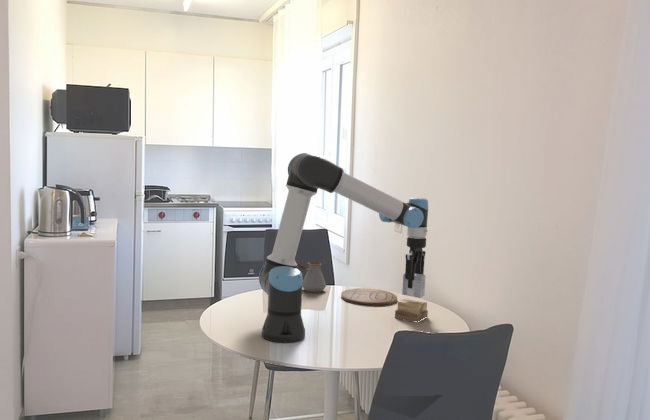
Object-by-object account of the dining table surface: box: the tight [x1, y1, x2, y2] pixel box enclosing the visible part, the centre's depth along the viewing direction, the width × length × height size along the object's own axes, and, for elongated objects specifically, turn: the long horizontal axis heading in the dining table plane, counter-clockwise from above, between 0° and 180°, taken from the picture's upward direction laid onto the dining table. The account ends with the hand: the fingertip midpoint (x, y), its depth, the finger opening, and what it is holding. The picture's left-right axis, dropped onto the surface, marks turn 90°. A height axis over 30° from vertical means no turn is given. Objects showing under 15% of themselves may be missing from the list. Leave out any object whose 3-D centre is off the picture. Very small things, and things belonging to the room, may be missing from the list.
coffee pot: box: [297, 261, 327, 294], centre depth 260 cm, size 21×12×15 cm, turn 148°
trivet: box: [340, 287, 398, 307], centre depth 255 cm, size 25×25×2 cm
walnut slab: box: [394, 309, 429, 322], centre depth 228 cm, size 9×10×4 cm
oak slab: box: [396, 297, 428, 314], centre depth 228 cm, size 8×9×4 cm
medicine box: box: [401, 273, 426, 299], centre depth 227 cm, size 8×4×9 cm, turn 57°
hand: (413, 294), depth 227 cm, fingers closed on medicine box, 4 cm apart
